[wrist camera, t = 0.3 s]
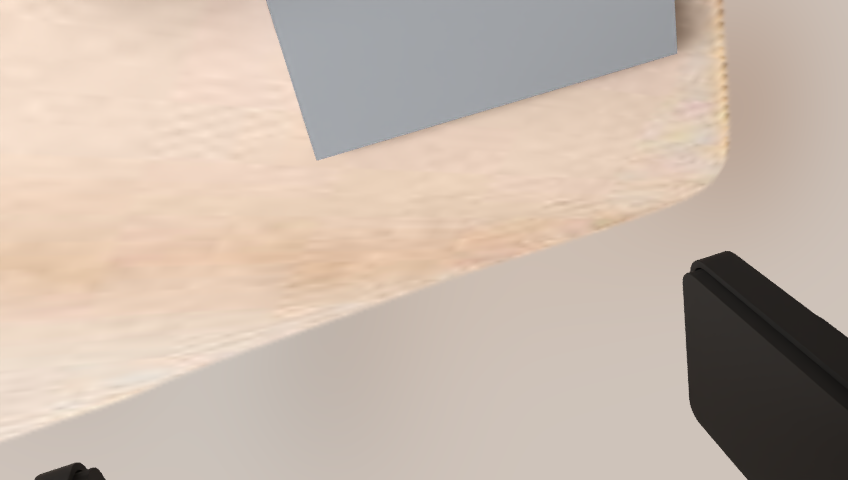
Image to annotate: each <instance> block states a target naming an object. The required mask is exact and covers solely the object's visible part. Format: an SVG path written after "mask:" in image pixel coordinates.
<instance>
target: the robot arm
mask: <svg viewBox="0 0 848 480" xmlns="http://www.w3.org/2000/svg"><path fill="white" fill-rule="evenodd" d="M683 295H684V313H685V331H686V349H687V365H688V383H689V400H690V405H691V408H692V411H693V413H694V415H695V417H696V419H697V420H698V422H699V423H700V424H701V426H702V427H703V428H704V429H705V430H706V431H707V433H708V434H709V435H710V436H711V437H712V438H713V440H714V441H715V442H716V443H717V444H718V445H719V447H720V448H721V449H722V450H723V451H724V452H725V454H726V455H727V456H728V457H729V458H730V460H731V461H732V462H733V463H734V464H735V465H736V467H737V468H738V469H739V470H740V471H741V472H742V473H743V475H744V476H745V477H746V478H747V479H748V480H848V337H846V336H845V335H844V334H842V333H841V332H840V331H838V330H837V329H836V328H834V327H833V326H832V325H830V324H829V323H828V322H826V321H825V320H824V319H822V318H821V317H819V316H817V315H815V314H814V313H813V312H811V311H810V310H809V309H807V308H806V307H804V306H803V305H802V304H801V303H799V302H798V301H797V300H795V299H794V298H793V297H791V296H790V295H789V294H787V293H786V292H785V291H783V290H782V289H781V288H780V287H778V286H777V285H776V284H774V283H773V282H771V281H770V280H769V279H768V278H766V277H765V276H764V275H762V274H761V273H760V272H758V271H757V270H756V269H754V268H753V267H752V266H750V265H749V264H748V263H746V262H745V261H744V260H742V259H741V258H740V257H738V256H737V255H736V254H734V253H732V252H730V251H725V252H722V253H718V254H715V255H712V256H710V257H706V258H703V259H700V260H697V261H695V262H693V263H692V266H691V271H690V273H686V274H685V275H684V277H683ZM35 480H105V478H104V477H103V475H102V473H101V472H100V471H99V470H98V469H97V468H90V469H86V467H85V466H84V465H83V464H81V463H73V464H70V465H68V466H64V467H61V468H58V469H55V470H52V471H49V472H46V473H43V474H40V475H38V476H37V477H36V478H35Z"/></svg>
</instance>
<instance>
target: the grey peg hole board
mask: <svg viewBox="0 0 848 480" xmlns="http://www.w3.org/2000/svg"><path fill="white" fill-rule="evenodd" d="M266 2H267V5H268V8H269V11H270V14H271V17H272V21H273V24H274V27H275V30H276V33H277V36H278V40H279V43H280V46H281V49H282V52H283V55H284V59H285V62H286V65H287V68H288V71H289V74H290V78H291V81H292V84H293V87H294V90H295V93H296V97H297V100H298V103H299V106H300V109H301V112H302V116H303V119H304V122H305V125H306V128H307V131H308V135H309V138H310V141H311V144H312V147H313V150H314V154H315V157H316V160H321V159H324V158H327V157H331V156H334V155H337V154H341V153H344V152H347V151H351V150H354V149H358V148H361V147H364V146H368V145H371V144H374V143H378V142H381V141H384V140H388V139H391V138H395V137H398V136H401V135H405V134H408V133H411V132H415V131H418V130H421V129H425V128H428V127H432V126H435V125H438V124H442V123H445V122H448V121H452V120H455V119H458V118H462V117H465V116H469V115H472V114H475V113H479V112H482V111H485V110H489V109H492V108H495V107H499V106H502V105H506V104H509V103H512V102H516V101H519V100H522V99H526V98H529V97H532V96H536V95H539V94H543V93H546V92H549V91H553V90H556V89H559V88H563V87H566V86H569V85H573V84H576V83H580V82H583V81H586V80H590V79H593V78H596V77H600V76H603V75H606V74H610V73H613V72H617V71H620V70H623V69H627V68H630V67H633V66H637V65H640V64H643V63H647V62H650V61H654V60H657V59H660V58H664V57H667V56H670V55H674V54H677V37H676V18H675V0H266Z"/></svg>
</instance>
